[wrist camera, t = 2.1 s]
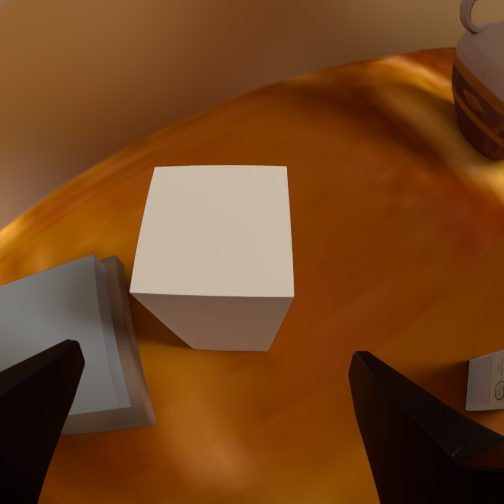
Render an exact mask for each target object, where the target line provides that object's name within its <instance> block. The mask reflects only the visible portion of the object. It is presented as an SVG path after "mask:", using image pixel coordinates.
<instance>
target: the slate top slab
mask: <svg viewBox="0 0 504 504" xmlns="http://www.w3.org/2000/svg"><path fill="white" fill-rule="evenodd" d="M66 339H71V340H77V341H78V342H79V344H80V347H81V350H82V353H83V356H84V359H85V367H84V370H83V373H82V376H81V379H80V382H79V386H78V389H77V392H76V396H75V399H74V402H73V404H72V407H71V409H70V412H69V414H68V416H76V415H84V414H92V413H99V412H105V411H112V410H118V409H124V408H129V407H131V404H130V400H129V396H128V392H127V388H126V384H125V380H124V376H123V372H122V367H121V363H120V358H119V354H118V349H117V344H116V339H115V333H114V328H113V322H112V316H111V309H110V303H109V296H108V289H107V281H106V272H105V266H104V265H103V264H102V263H101V262H100V261H99V260H98V259H97V258H96V257H95V255H94V254H93V255H90V256H87V257H84V258H81V259H78V260H75V261H72V262H69V263H66V264H63V265H60V266H57V267H54V268H51V269H48V270H45V271H42V272H39V273H37V274H34V275H31V276H28V277H25V278H22V279H20V280H17V281H14V282H11V283H9V284H6V285H3V286H0V372H1V371H3V370H5V369H7V368H9V367H11V366H13V365H15V364H17V363H19V362H21V361H23V360H25V359H27V358H29V357H32V356H34V355H36V354H38V353H40V352H42V351H44V350H46V349H48V348H50V347H52V346H54V345H56V344H58V343H60V342H62V341H64V340H66Z"/></svg>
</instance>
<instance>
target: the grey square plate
mask: <svg viewBox="0 0 504 504" xmlns="http://www.w3.org/2000/svg"><path fill="white" fill-rule="evenodd" d="M99 261H100V262H101V263H102V264H103V265H104V266H105V272H106V281H107V289H108V296H109V303H110V309H111V316H112V322H113V328H114V333H115V339H116V344H117V349H118V354H119V358H120V363H121V367H122V372H123V376H124V380H125V384H126V388H127V392H128V396H129V400H130V404H131V407H129V408H124V409H118V410H112V411H105V412H99V413H92V414H84V415H76V416H67V419H66V421H65V424H64V426H63V429H62V432H61V434H60V435H71V434H85V433H96V432H105V431H114V430H122V429H129V428H136V427H143V426H149V425H152V424H156V423H157V422H156V419H155V415H154V412H153V408H152V405H151V401H150V397H149V393H148V390H147V386H146V382H145V378H144V374H143V369H142V365H141V361H140V356H139V352H138V347H137V342H136V337H135V332H134V327H133V321H132V316H131V310H130V304H129V298H128V292H127V285H126V278H125V271H124V265H123V264H122V263H121V261H120V260H119V259H118V258H117V257H116V255H115V256H112V257H108V258H105V259H102V260H99Z"/></svg>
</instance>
